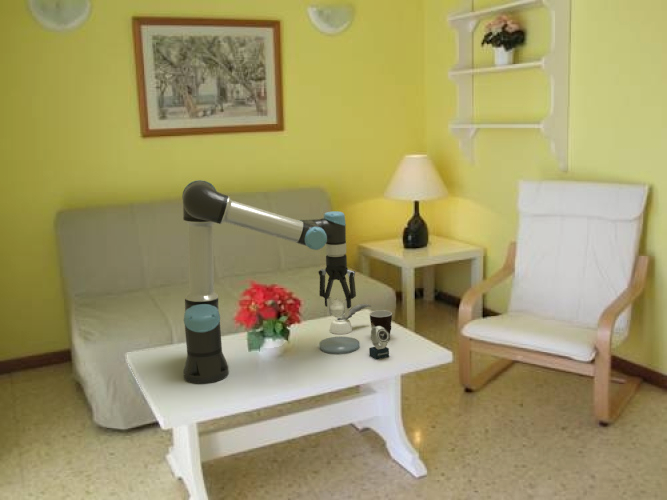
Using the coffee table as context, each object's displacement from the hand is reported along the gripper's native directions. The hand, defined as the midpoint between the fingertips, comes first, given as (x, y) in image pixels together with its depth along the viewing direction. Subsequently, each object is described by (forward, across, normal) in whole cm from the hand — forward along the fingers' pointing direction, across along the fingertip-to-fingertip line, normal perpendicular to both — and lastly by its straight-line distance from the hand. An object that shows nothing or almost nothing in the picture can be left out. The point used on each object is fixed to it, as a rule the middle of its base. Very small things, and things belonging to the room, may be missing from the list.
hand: (338, 315), depth 257 cm
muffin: (0, 0, 0) cm, 0 cm away
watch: (+12, -17, +5) cm, 22 cm away
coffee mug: (+12, -13, -12) cm, 21 cm away
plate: (+12, 0, 0) cm, 12 cm away
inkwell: (+12, +3, -21) cm, 25 cm away
